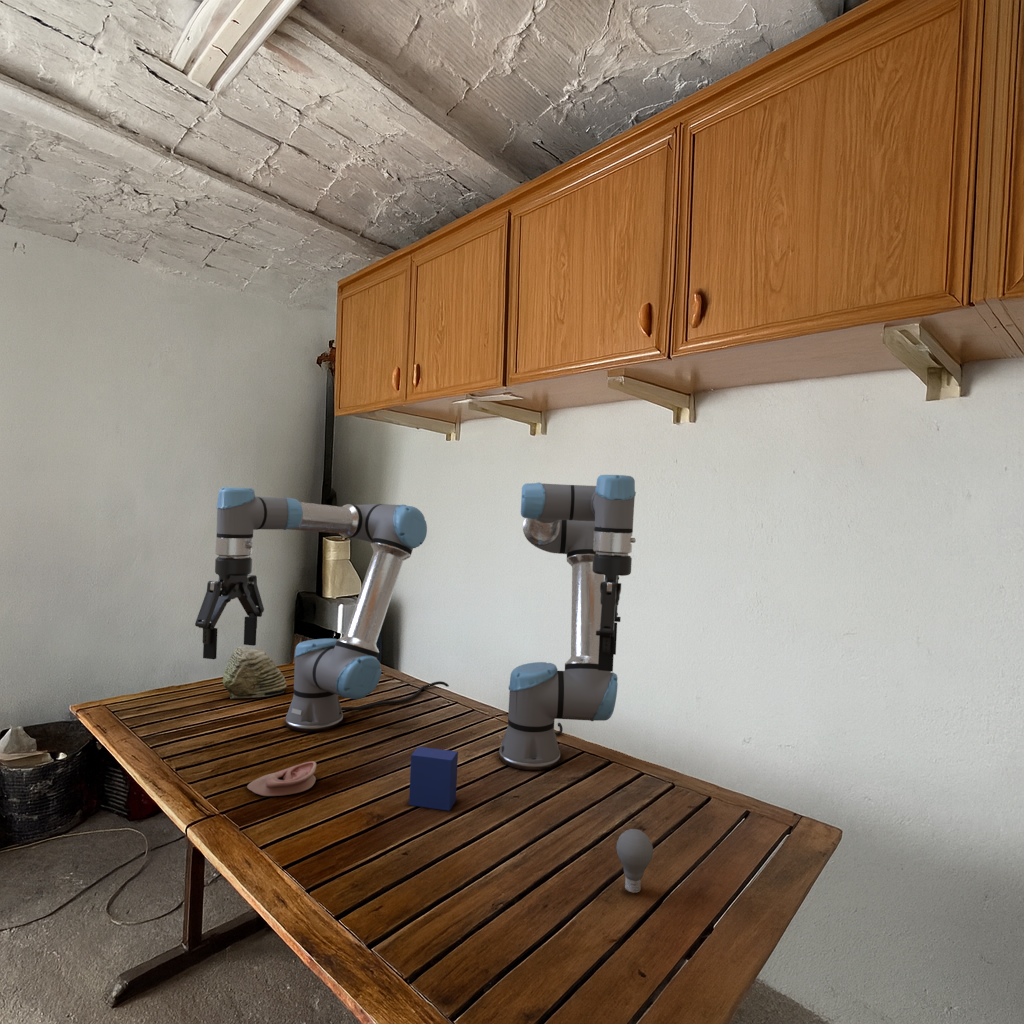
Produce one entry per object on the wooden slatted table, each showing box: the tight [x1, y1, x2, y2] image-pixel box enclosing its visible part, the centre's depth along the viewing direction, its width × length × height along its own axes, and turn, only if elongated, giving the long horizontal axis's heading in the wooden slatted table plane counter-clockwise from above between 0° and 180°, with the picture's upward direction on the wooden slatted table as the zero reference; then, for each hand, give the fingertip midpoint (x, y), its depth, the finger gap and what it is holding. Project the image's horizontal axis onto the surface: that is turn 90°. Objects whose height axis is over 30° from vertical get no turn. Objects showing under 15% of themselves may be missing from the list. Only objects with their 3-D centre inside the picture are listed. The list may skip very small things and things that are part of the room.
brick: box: [408, 746, 459, 812], centre depth 133 cm, size 9×5×11 cm, turn 78°
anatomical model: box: [246, 760, 317, 797], centre depth 138 cm, size 13×4×12 cm
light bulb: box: [615, 828, 654, 894], centre depth 106 cm, size 6×6×10 cm
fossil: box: [222, 646, 288, 699], centre depth 198 cm, size 9×18×15 cm, turn 132°
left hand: (230, 651), depth 141 cm, fingers open, 13 cm apart
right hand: (607, 661), depth 124 cm, fingers open, 13 cm apart
